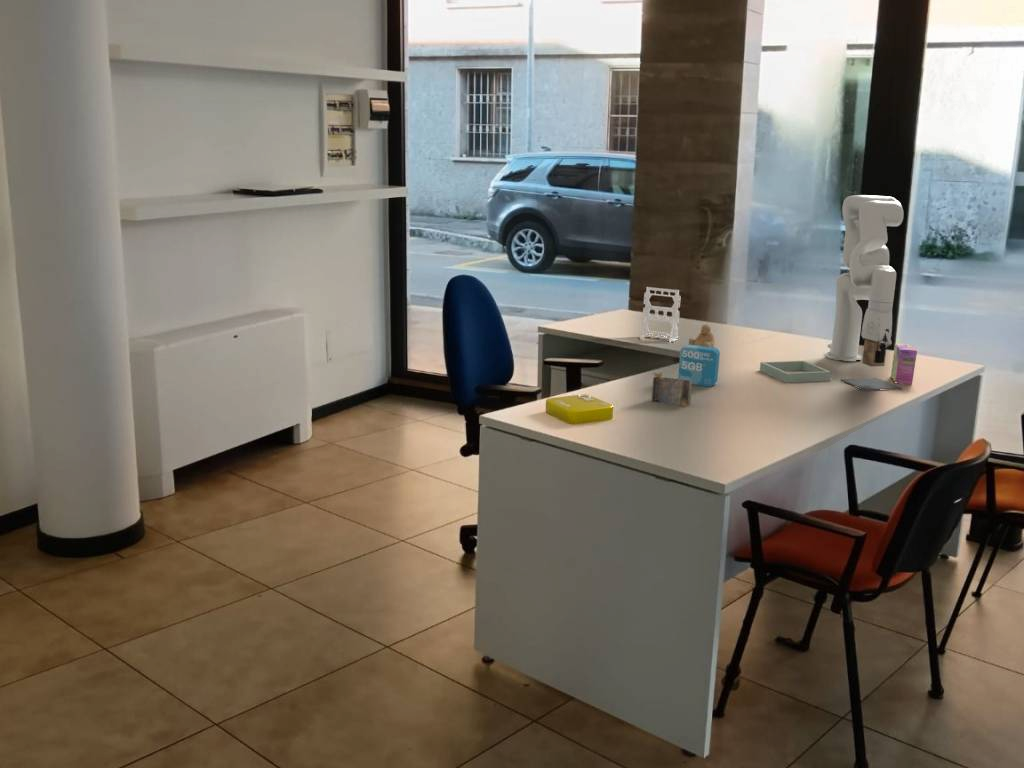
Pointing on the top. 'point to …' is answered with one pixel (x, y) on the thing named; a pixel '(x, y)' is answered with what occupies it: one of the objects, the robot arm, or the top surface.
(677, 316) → the film strip holder
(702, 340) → the statue
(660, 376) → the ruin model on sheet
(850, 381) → the mat
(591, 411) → the element tile
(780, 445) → the top surface
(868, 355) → the block
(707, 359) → the data package
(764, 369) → the green square frame
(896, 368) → the box
